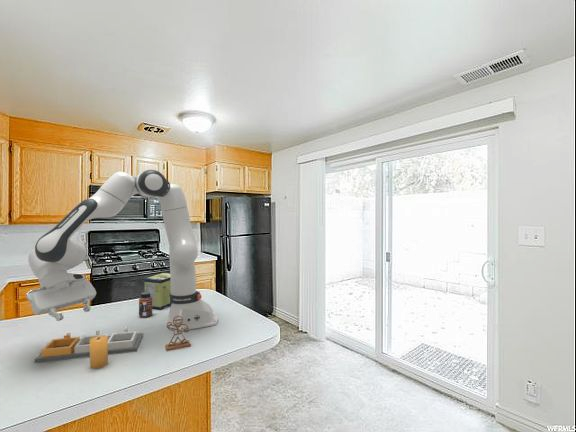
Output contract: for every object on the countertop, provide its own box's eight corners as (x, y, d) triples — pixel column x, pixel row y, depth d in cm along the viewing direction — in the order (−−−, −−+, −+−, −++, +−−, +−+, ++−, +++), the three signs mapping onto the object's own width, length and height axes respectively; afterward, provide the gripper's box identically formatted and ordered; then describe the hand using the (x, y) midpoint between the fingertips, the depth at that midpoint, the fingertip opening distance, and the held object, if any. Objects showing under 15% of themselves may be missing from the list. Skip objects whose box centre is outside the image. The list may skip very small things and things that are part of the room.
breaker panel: (143, 335, 129) (142, 324, 129) (136, 351, 116) (136, 338, 115) (52, 344, 120) (52, 332, 120) (34, 362, 107) (34, 349, 107)
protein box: (179, 301, 174) (179, 273, 174) (160, 310, 159) (160, 280, 159) (164, 299, 177) (164, 272, 177) (144, 308, 163) (143, 278, 162)
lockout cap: (109, 359, 109) (109, 334, 109) (105, 367, 104) (105, 340, 104) (92, 361, 108) (92, 335, 107) (87, 369, 103) (87, 342, 102)
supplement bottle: (147, 318, 148) (147, 295, 147) (136, 317, 149) (135, 294, 149) (155, 314, 154) (154, 291, 153) (144, 313, 155) (144, 290, 154)
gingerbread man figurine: (188, 342, 124) (188, 312, 123) (190, 346, 120) (190, 315, 120) (165, 347, 119) (164, 316, 119) (166, 351, 116) (166, 319, 115)
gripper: (27, 286, 103) (45, 319, 100) (88, 273, 122) (105, 301, 119) (20, 297, 105) (37, 331, 102) (81, 283, 124) (98, 311, 121)
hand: (74, 315), depth 110 cm, fingers open, 8 cm apart
